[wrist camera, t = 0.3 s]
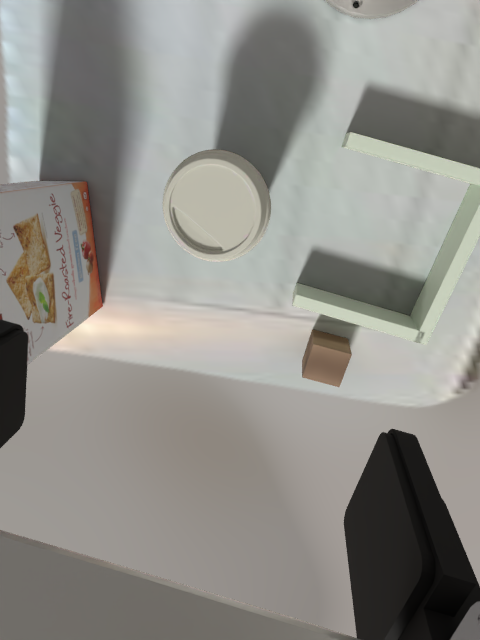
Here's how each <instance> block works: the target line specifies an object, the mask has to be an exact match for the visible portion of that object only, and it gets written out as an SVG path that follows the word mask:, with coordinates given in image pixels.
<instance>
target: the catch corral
mask: <svg viewBox="0 0 480 640" xmlns="http://www.w3.org/2000/svg"><path fill="white" fill-rule="evenodd" d="M342 147H343V148H347V149H350V150H354V151H357V152H361V153H364V154H368V155H371V156H375V157H378V158H382V159H385V160H389V161H392V162H396V163H399V164H403V165H406V166H410V167H413V168H417V169H420V170H424V171H427V172H431V173H435V174H438V175H442V176H445V177H449V178H452V179H456V180H459V181H463V182H466V183H470V186H469V188H468V190H467V193H466V195H465V197H464V199H463V201H462V203H461V206H460V208H459V210H458V212H457V214H456V217H455V219H454V221H453V223H452V225H451V227H450V230H449V232H448V234H447V236H446V238H445V241H444V243H443V245H442V247H441V249H440V251H439V254H438V256H437V258H436V260H435V262H434V264H433V267H432V269H431V271H430V273H429V275H428V278H427V280H426V282H425V284H424V286H423V288H422V291H421V293H420V295H419V297H418V299H417V302H416V304H415V306H414V308H413V310H412V312H411V315H410V316H408V315H405V314H401V313H398V312H395V311H391V310H388V309H384V308H381V307H378V306H374V305H371V304H367V303H364V302H361V301H357V300H354V299H350V298H347V297H344V296H340V295H337V294H333V293H330V292H326V291H323V290H320V289H316V288H313V287H309V286H306V285H303V284H299V283H296V286H295V289H294V292H293V305H292V306H296V307H299V308H302V309H306V310H309V311H312V312H316V313H319V314H323V315H326V316H329V317H333V318H336V319H340V320H343V321H346V322H350V323H353V324H356V325H360V326H363V327H367V328H370V329H373V330H377V331H380V332H384V333H387V334H390V335H394V336H397V337H400V338H404V339H407V340H411V341H414V342H417V343H421V344H424V345H426V344H427V342H428V340H429V338H430V336H431V334H432V332H433V330H434V328H435V326H436V324H437V322H438V320H439V318H440V316H441V314H442V312H443V310H444V308H445V306H446V304H447V302H448V300H449V298H450V296H451V293H452V291H453V289H454V287H455V285H456V283H457V281H458V279H459V277H460V275H461V273H462V271H463V269H464V267H465V265H466V263H467V261H468V259H469V257H470V255H471V253H472V251H473V249H474V247H475V245H476V242H477V240H478V238H479V236H480V168H476V167H473V166H469V165H466V164H462V163H459V162H455V161H452V160H448V159H444V158H441V157H437V156H434V155H430V154H427V153H423V152H420V151H416V150H413V149H409V148H406V147H402V146H398V145H395V144H391V143H388V142H384V141H381V140H377V139H374V138H370V137H367V136H363V135H360V134H356V133H353V132H349V133H346V135H345V138H344V141H343V144H342Z"/></svg>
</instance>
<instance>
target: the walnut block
mask: <svg viewBox="0 0 480 640" xmlns="http://www.w3.org/2000/svg"><path fill="white" fill-rule="evenodd" d="M351 355H352V354H351V350H350V345H349V341H348V339H347V338H343V337H339V336H336V335H332V334H328V333H324V332H321V331H317V330H313V329H312V332H311V335H310V338H309V341H308V345H307V348H306V351H305V354H304V357H303V360H302V377H303V378H307V379H311V380H314V381H318V382H322V383H325V384H329V385H333V386H337V387H340V384H341V382H342V379H343V376H344V374H345V371H346V368H347V366H348V363H349V360H350V358H351Z"/></svg>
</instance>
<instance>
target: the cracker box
mask: <svg viewBox="0 0 480 640" xmlns="http://www.w3.org/2000/svg"><path fill="white" fill-rule="evenodd" d="M102 306H103V304H102V297H101V290H100V281H99V275H98V266H97V258H96V250H95V242H94V234H93V226H92V218H91V210H90V202H89V193H88V185H87V182H77V181H31V182H21V183H11V184H1V185H0V319H1V320H5V321H8V322H12V323H15V324H19V325H21V326H22V327H23V330H24V332H26V333H27V334H28V356H27V365H28V364H30V363H31V362H32V361H33V360H35V359H36V358H37V357H39V356H40V355H41V354H43V353H44V352H45V351H46V350H48V349H49V348H50V347H51V346H53V345H54V344H55V343H57V342H58V341H59V340H60V339H62V338H63V337H64V336H65V335H67V334H68V333H69V332H71V331H72V330H73V329H74V328H76V327H77V326H78V325H80V324H81V323H82V322H84V321H85V320H86V319H87V318H88V317H90V316H91V315H92V314H94V313H95V312H96V311H97V310H99V309H100V308H101V307H102Z"/></svg>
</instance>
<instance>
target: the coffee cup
mask: <svg viewBox="0 0 480 640" xmlns="http://www.w3.org/2000/svg"><path fill="white" fill-rule="evenodd" d="M163 213H164V218H165V222H166V225H167V227H168V229H169V231H170V233H171V235H172V236H173V238H174V239H175V241H176V242H177V243H178V244H179V245H180V246H181V247H182V248H183V249H184V250H185V251H187V252H188V253H190V254H191V255H193V256H195V257H197V258H200V259H203V260H207V261H213V262H222V261H229V260H233V259H236V258H238V257H241V256H243V255H245V254H246V253H248V252H249V251H250V250H252V249H253V248H254V247H255V246H256V245H257V244H258V243H259V241H260V240H261V239H262V237H263V235H264V234H265V232H266V229H267V227H268V224H269V220H270V214H271V201H270V195H269V191H268V188H267V185H266V183H265V181H264V179H263V177H262V175H261V174H260V173H259V171H258V170H257V169H256V168H255V167H254V166H253V165H252V164H251V163H250V162H249V161H248V160H246V159H245V158H243V157H242V156H240V155H238V154H235V153H233V152H230V151H225V150H206V151H201V152H198V153H196V154H194V155H192V156H190V157H188V158H187V159H185V160H184V161H183V162H182V163H181V164H180V165H179V166H178V167H177V168H176V169H175V170H174V172H173V173H172V174H171V176H170V178H169V180H168V182H167V184H166V187H165V191H164V196H163Z"/></svg>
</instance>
